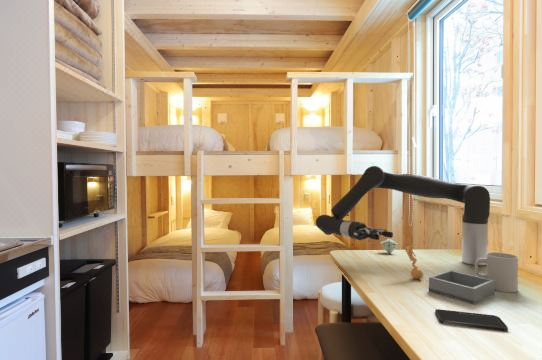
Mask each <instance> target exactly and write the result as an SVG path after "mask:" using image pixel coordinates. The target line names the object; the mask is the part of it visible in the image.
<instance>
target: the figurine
mask: <svg viewBox="0 0 542 360" xmlns="http://www.w3.org/2000/svg"><path fill="white" fill-rule="evenodd" d="M413 249H414V245H412V244H411V245H409V246H405V247H404V250H405V252H406V254H407V256H408V258H409V260H410V262H412V263H411V265H412V267H413V268H412V269H411V271H410V274H411V277H412V278H413V279H415V280H421V278H423V276H424V273H423V270H422V269H421V268H420V267H418V266H416V265H415V264H416V263H417V261H418V260H417V258H416V254H415V252H414V250H413Z"/></svg>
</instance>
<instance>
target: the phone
mask: <svg viewBox="0 0 542 360" xmlns="http://www.w3.org/2000/svg"><path fill="white" fill-rule="evenodd" d="M434 315H435V317H436V318H437V320H438V322H439V323H440V324H442V325H449V326H453V327H454V326H456V327H464V328H473V329H480V330H490V331H497V332H509V331H508V330H509V327H508V326H507V324H506V323H505V322H504V321H503V320H502V319H501V318H500V317H499V316H497V315H495V314H494V315H493V314H485V313H484V314H483V313H475V312H466V311H456V310H448V309H440V308H438V309H437V308H436V309H435V313H434Z"/></svg>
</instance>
